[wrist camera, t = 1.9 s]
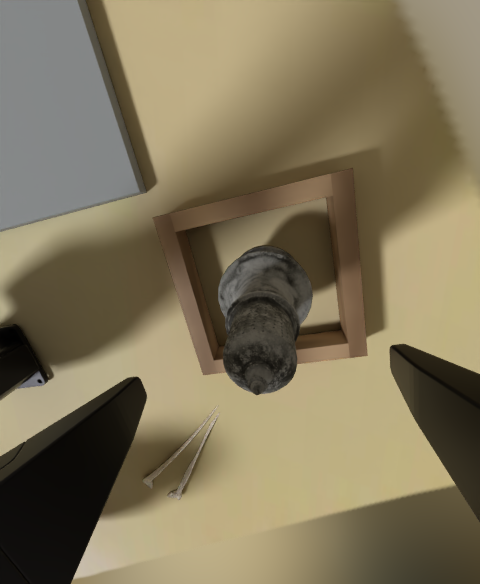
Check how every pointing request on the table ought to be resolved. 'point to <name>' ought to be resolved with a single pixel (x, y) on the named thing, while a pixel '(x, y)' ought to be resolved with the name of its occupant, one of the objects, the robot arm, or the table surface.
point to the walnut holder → (330, 186)
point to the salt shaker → (263, 317)
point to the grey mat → (58, 116)
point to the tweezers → (149, 478)
